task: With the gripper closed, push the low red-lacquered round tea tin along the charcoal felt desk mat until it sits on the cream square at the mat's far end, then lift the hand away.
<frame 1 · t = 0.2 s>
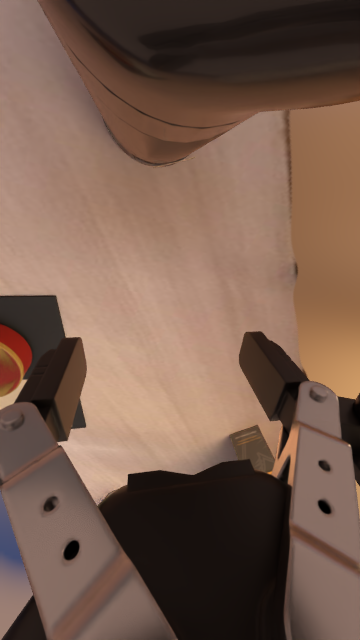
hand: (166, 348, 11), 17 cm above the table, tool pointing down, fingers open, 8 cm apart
cake mix box: (251, 455, 52), on the table
desk mat: (11, 376, 31), on the table
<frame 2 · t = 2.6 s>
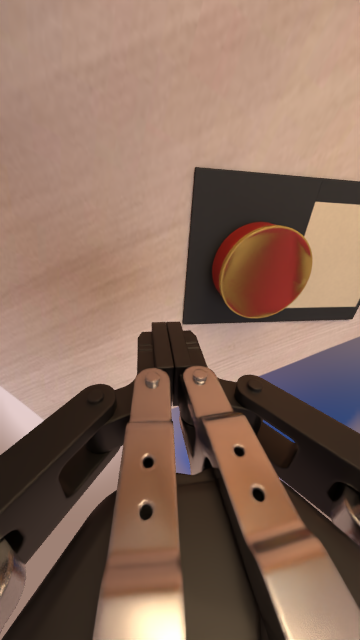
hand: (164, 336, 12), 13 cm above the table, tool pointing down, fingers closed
desk mat: (290, 260, 26), on the table
tea tin: (250, 264, 25), resting on desk mat
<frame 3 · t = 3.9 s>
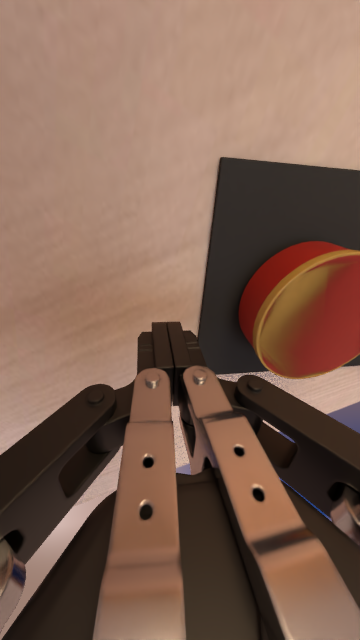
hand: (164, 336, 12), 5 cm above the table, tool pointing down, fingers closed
desk mat: (346, 291, 19), on the table
tea tin: (291, 299, 18), resting on desk mat
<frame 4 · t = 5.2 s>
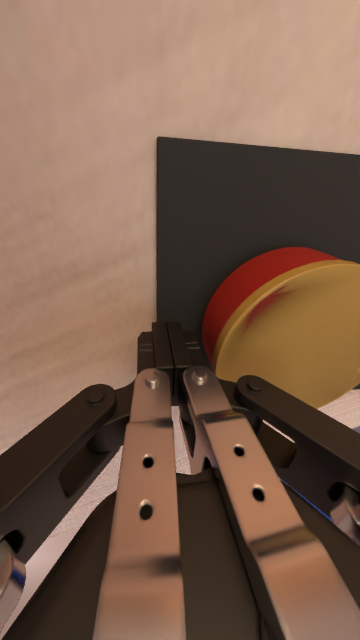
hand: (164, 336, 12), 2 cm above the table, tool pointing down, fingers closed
desk mat: (338, 306, 15), on the table
tea tin: (269, 317, 14), resting on desk mat, touching gripper
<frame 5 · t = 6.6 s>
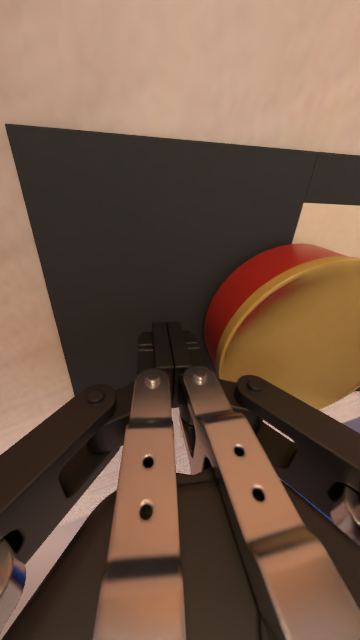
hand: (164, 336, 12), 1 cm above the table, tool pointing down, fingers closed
desk mat: (262, 310, 14), on the table
tea tin: (272, 315, 14), resting on desk mat, touching gripper
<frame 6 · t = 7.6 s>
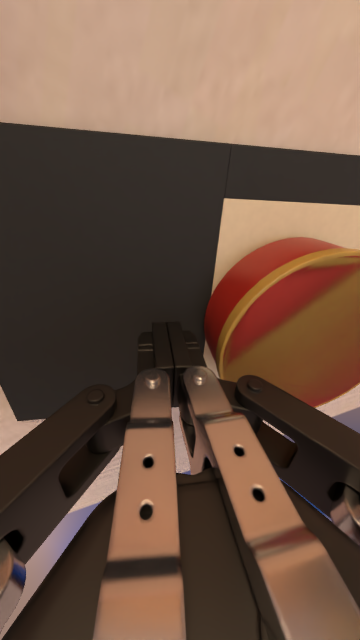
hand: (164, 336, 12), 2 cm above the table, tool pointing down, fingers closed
desk mat: (199, 311, 14), on the table
tea tin: (273, 311, 14), resting on desk mat, touching gripper
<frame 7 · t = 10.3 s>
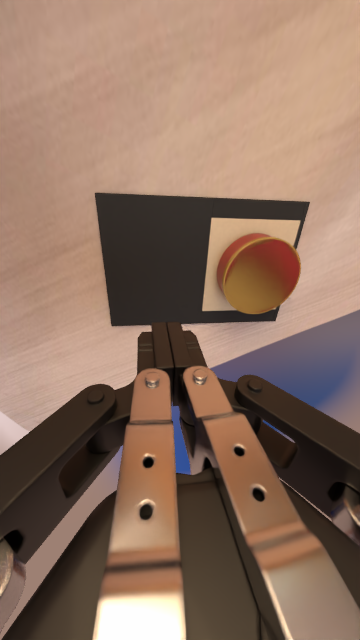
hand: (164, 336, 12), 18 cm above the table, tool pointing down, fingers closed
desk mat: (202, 268, 29), on the table
tea tin: (249, 268, 30), resting on desk mat
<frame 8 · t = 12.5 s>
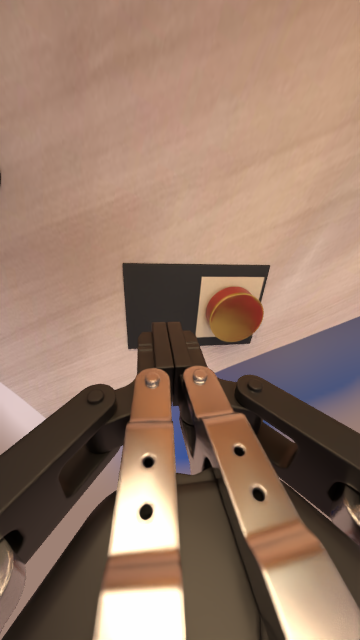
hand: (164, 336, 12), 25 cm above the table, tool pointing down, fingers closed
desk mat: (195, 308, 41), on the table
tea tin: (229, 308, 41), resting on desk mat
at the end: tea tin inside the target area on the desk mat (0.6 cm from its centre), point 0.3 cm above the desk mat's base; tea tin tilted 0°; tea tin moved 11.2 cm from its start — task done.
